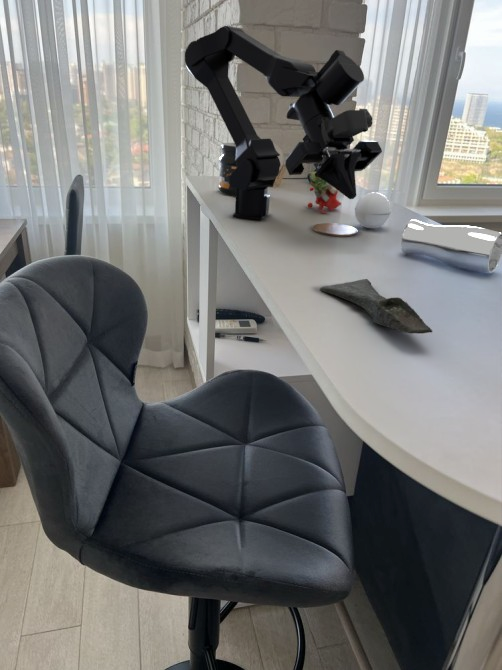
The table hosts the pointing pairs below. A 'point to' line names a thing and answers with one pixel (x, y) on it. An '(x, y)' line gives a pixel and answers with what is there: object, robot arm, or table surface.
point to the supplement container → (227, 168)
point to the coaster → (335, 229)
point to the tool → (380, 306)
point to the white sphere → (372, 210)
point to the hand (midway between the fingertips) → (353, 197)
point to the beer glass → (454, 245)
